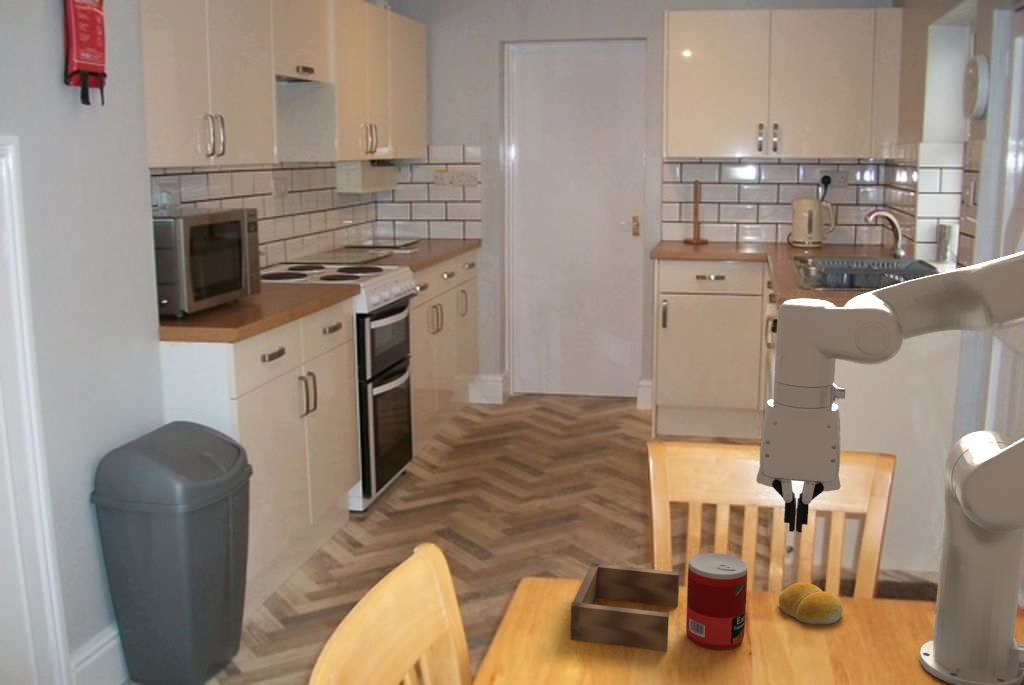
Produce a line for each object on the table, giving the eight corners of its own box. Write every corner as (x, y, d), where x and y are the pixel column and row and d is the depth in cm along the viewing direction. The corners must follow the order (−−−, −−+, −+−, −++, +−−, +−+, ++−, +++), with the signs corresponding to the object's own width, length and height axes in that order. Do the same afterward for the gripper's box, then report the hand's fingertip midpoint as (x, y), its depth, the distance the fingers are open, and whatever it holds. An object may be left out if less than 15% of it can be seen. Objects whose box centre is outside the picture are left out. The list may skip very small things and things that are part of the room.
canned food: (744, 653, 142) (748, 577, 140) (684, 648, 144) (687, 572, 142) (743, 628, 150) (747, 555, 147) (686, 623, 151) (689, 550, 149)
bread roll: (816, 632, 149) (818, 605, 148) (769, 608, 156) (770, 583, 155) (855, 618, 153) (857, 592, 153) (807, 595, 161) (809, 571, 160)
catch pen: (678, 603, 157) (679, 572, 156) (666, 651, 143) (667, 616, 142) (590, 594, 161) (591, 563, 160) (570, 639, 146) (571, 605, 145)
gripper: (861, 391, 139) (852, 524, 143) (745, 384, 143) (739, 513, 146) (865, 405, 132) (855, 544, 135) (743, 397, 136) (736, 533, 139)
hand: (795, 528), depth 141 cm, fingers closed
